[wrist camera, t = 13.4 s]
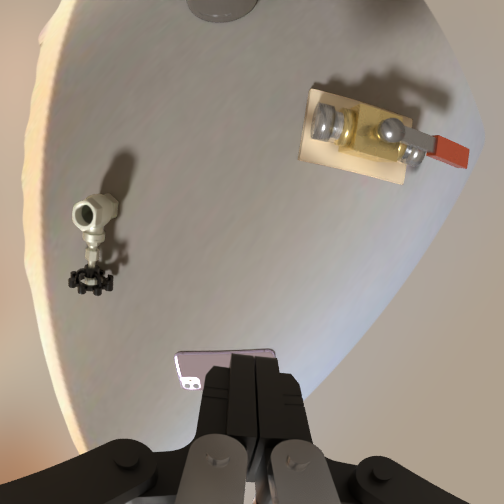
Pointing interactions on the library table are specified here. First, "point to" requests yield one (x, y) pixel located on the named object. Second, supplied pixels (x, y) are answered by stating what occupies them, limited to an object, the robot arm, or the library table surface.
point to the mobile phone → (206, 365)
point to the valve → (93, 241)
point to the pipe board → (329, 151)
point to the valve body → (361, 134)
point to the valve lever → (424, 142)
